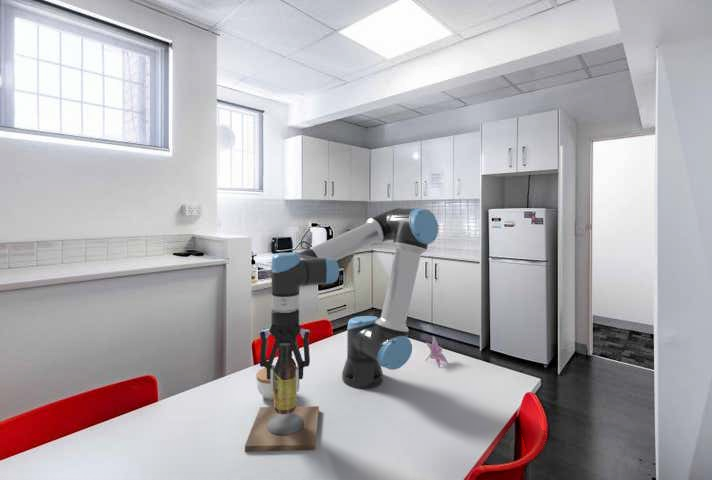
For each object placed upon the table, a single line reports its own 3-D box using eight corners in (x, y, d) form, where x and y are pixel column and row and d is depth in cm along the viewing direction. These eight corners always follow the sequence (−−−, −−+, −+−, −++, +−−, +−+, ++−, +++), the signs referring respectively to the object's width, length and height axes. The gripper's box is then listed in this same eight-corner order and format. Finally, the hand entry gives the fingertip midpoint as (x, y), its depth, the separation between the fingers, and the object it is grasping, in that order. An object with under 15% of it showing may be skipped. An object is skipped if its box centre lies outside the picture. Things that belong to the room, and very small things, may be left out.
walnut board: (318, 410, 109) (319, 405, 109) (315, 450, 91) (315, 443, 91) (260, 411, 108) (260, 406, 108) (244, 451, 90) (244, 444, 90)
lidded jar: (281, 405, 112) (281, 376, 111) (250, 401, 114) (250, 373, 114) (293, 388, 123) (293, 362, 122) (265, 385, 125) (265, 359, 124)
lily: (424, 372, 139) (437, 354, 136) (410, 350, 149) (422, 333, 146) (445, 375, 145) (458, 358, 142) (431, 354, 155) (443, 337, 152)
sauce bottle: (275, 403, 102) (275, 337, 101) (297, 403, 103) (297, 337, 101) (272, 416, 96) (272, 345, 94) (295, 416, 96) (295, 345, 95)
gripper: (246, 312, 93) (247, 397, 95) (319, 313, 94) (318, 396, 96) (253, 305, 100) (253, 383, 102) (320, 305, 101) (320, 383, 103)
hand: (285, 389), depth 99 cm, fingers closed on sauce bottle, 6 cm apart
